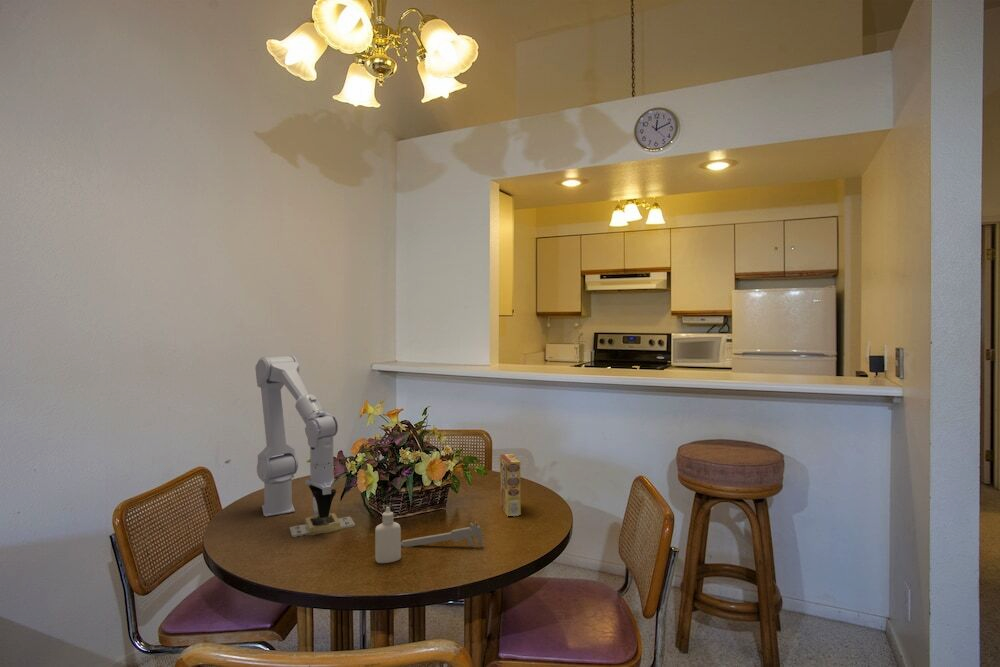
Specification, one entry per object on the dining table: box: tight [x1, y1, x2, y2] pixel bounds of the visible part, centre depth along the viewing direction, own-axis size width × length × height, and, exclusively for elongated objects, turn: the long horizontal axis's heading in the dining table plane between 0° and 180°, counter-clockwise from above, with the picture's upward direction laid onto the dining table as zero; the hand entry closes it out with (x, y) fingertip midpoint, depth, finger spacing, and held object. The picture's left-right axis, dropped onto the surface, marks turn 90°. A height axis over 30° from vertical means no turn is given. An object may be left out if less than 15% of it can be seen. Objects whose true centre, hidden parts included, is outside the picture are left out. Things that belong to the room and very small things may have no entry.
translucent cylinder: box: [311, 494, 331, 526], centre depth 136 cm, size 4×4×7 cm
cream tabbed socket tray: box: [289, 512, 356, 538], centre depth 136 cm, size 8×16×2 cm, turn 118°
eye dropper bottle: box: [374, 506, 402, 564], centre depth 118 cm, size 4×6×12 cm
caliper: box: [401, 521, 483, 548], centre depth 125 cm, size 20×1×6 cm, turn 88°
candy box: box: [499, 453, 522, 518], centre depth 148 cm, size 9×4×15 cm, turn 13°
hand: (322, 514), depth 136 cm, fingers closed on translucent cylinder, 4 cm apart
